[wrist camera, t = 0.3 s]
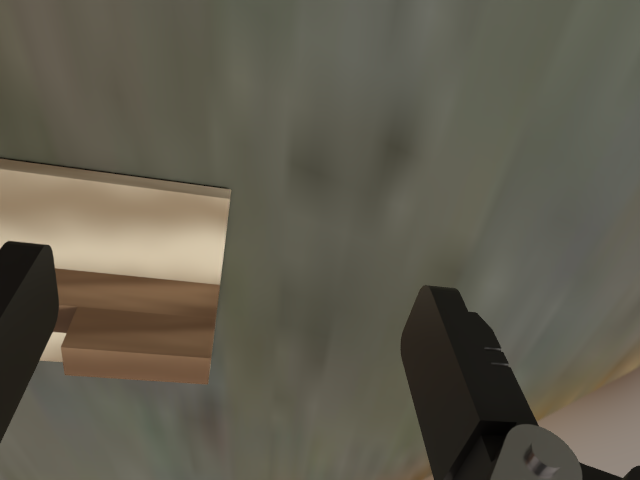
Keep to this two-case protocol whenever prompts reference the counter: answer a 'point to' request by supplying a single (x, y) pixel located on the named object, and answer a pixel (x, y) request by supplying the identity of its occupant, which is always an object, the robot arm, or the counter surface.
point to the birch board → (114, 224)
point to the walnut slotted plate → (136, 326)
